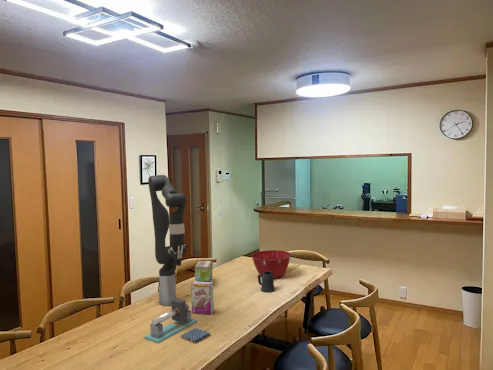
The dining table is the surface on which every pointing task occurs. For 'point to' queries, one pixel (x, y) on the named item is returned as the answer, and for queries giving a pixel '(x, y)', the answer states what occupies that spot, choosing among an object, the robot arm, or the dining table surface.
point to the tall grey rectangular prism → (182, 310)
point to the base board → (170, 330)
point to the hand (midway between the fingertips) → (178, 265)
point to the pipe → (157, 327)
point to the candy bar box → (202, 297)
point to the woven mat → (195, 335)
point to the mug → (267, 282)
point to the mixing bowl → (271, 262)
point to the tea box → (203, 271)
